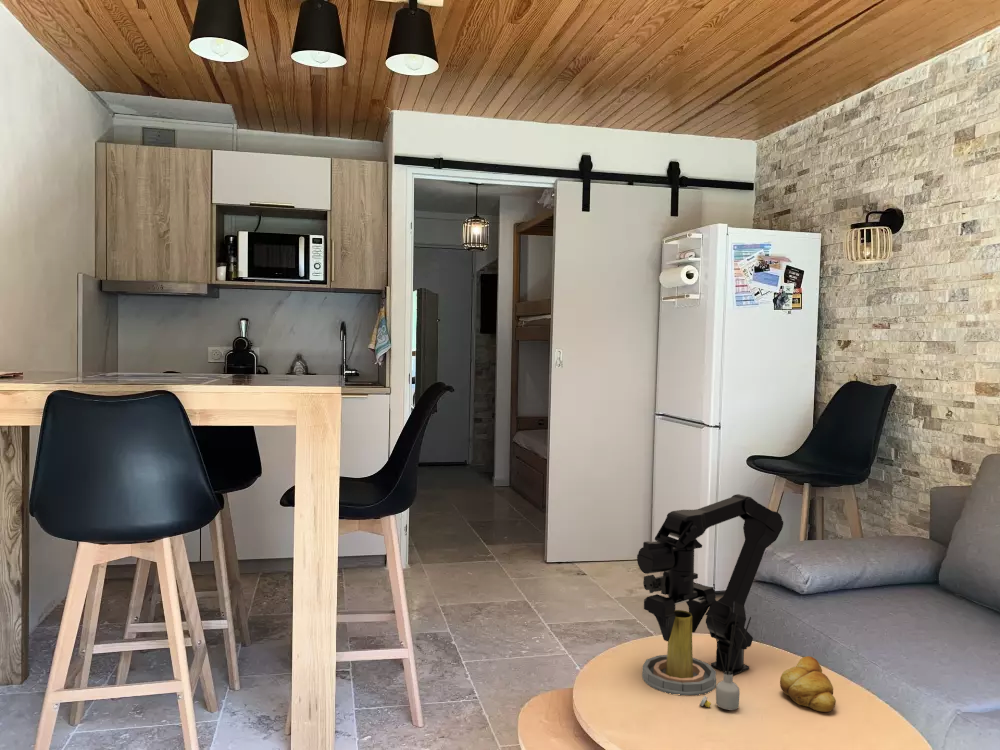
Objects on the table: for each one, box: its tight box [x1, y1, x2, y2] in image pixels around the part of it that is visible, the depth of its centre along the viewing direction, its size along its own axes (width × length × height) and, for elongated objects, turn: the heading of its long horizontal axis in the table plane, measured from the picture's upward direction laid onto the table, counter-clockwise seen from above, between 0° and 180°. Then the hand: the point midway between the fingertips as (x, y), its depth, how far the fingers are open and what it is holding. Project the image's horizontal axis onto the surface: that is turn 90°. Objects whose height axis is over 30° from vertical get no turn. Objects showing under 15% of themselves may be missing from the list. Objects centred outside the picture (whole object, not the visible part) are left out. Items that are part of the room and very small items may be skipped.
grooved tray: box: [641, 654, 717, 696], centre depth 169 cm, size 16×16×2 cm
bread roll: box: [779, 655, 837, 713], centre depth 158 cm, size 13×10×8 cm
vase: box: [666, 609, 694, 678], centre depth 168 cm, size 6×6×14 cm
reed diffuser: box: [699, 614, 752, 711], centre depth 154 cm, size 10×7×20 cm
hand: (679, 636), depth 168 cm, fingers open, 9 cm apart
